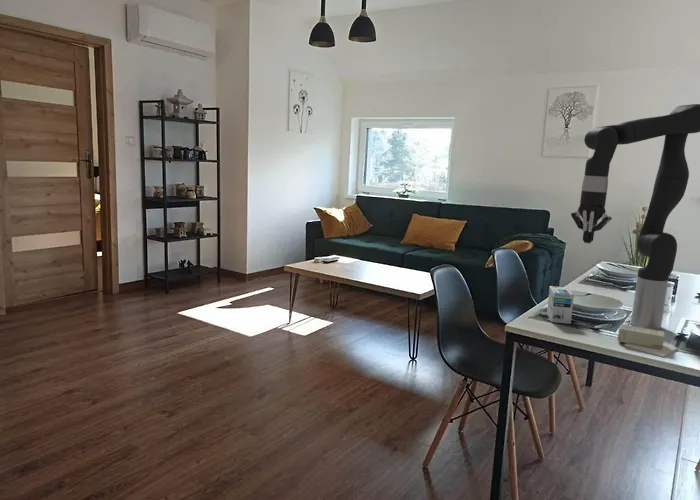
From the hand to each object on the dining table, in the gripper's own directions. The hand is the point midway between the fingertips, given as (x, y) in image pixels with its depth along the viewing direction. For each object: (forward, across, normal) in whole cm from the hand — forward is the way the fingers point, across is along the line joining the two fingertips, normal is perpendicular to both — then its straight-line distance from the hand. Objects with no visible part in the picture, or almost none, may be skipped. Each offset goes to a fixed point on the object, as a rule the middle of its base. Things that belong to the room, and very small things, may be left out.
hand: (587, 242), depth 172 cm
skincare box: (+26, -14, +2) cm, 30 cm away
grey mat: (+29, -24, 0) cm, 37 cm away
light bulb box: (+30, +8, -4) cm, 31 cm away
